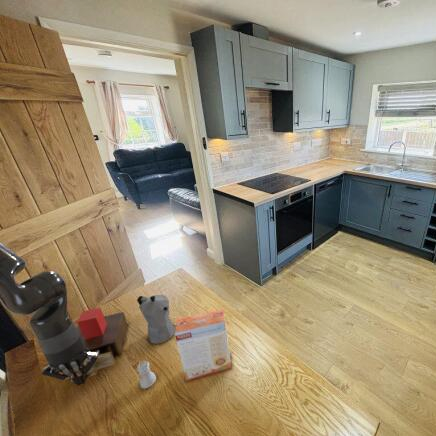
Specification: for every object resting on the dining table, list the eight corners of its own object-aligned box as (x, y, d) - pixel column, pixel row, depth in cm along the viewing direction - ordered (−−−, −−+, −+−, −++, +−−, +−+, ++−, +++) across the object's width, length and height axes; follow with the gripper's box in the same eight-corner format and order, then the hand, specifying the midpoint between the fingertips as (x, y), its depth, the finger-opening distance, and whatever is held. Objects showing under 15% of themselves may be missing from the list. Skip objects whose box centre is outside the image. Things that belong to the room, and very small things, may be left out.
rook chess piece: (151, 389, 72) (145, 372, 69) (136, 389, 72) (130, 371, 69) (159, 375, 76) (154, 358, 73) (145, 374, 76) (139, 357, 73)
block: (85, 339, 80) (77, 322, 77) (89, 328, 84) (82, 311, 81) (102, 335, 82) (95, 317, 79) (106, 324, 86) (100, 307, 83)
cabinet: (119, 355, 82) (114, 342, 79) (70, 370, 77) (62, 356, 74) (127, 324, 94) (123, 311, 92) (85, 335, 89) (79, 322, 87)
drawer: (110, 376, 75) (106, 366, 73) (60, 392, 70) (54, 381, 68) (122, 332, 90) (119, 323, 88) (82, 343, 85) (77, 333, 83)
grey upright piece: (184, 330, 92) (176, 293, 85) (164, 350, 84) (153, 311, 77) (156, 317, 98) (147, 282, 91) (134, 335, 90) (122, 298, 83)
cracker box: (229, 353, 84) (224, 307, 76) (231, 368, 79) (225, 322, 70) (187, 364, 80) (176, 317, 71) (185, 381, 74) (173, 333, 66)
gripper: (95, 322, 69) (112, 363, 76) (36, 337, 64) (59, 378, 71) (86, 343, 63) (105, 385, 70) (20, 361, 58) (47, 404, 65)
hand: (82, 382), depth 70 cm, fingers closed
